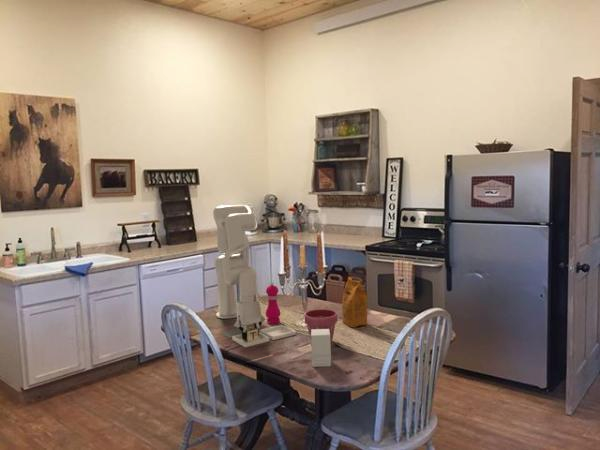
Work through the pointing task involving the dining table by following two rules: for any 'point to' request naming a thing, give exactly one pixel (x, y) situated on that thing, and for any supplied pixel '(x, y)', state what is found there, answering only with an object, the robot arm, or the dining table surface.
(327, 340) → the supplement box
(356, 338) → the dining table surface
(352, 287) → the coffee package
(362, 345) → the dining table surface
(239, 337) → the tray
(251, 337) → the letter cube
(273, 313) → the pepper mill
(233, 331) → the pad
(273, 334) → the tray
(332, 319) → the plant pot
